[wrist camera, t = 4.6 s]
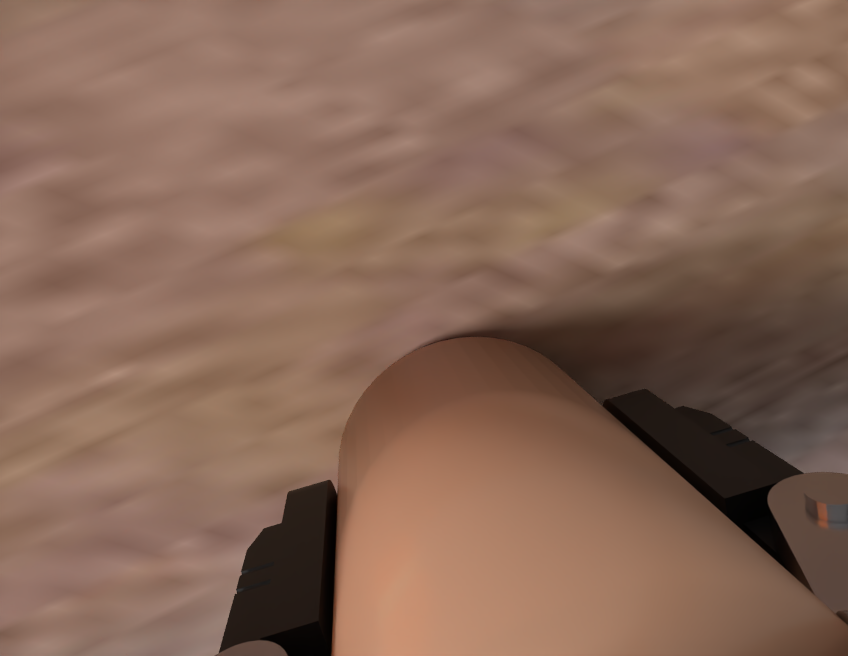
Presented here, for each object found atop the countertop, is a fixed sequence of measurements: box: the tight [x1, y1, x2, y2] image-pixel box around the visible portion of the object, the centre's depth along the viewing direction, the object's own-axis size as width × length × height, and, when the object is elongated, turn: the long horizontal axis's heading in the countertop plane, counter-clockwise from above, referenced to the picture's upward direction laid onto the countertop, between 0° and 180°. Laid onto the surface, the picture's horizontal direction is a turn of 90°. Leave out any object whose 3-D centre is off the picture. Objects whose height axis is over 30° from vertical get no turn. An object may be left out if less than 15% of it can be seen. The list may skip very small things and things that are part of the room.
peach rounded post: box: [331, 337, 848, 656], centre depth 8 cm, size 5×5×7 cm
